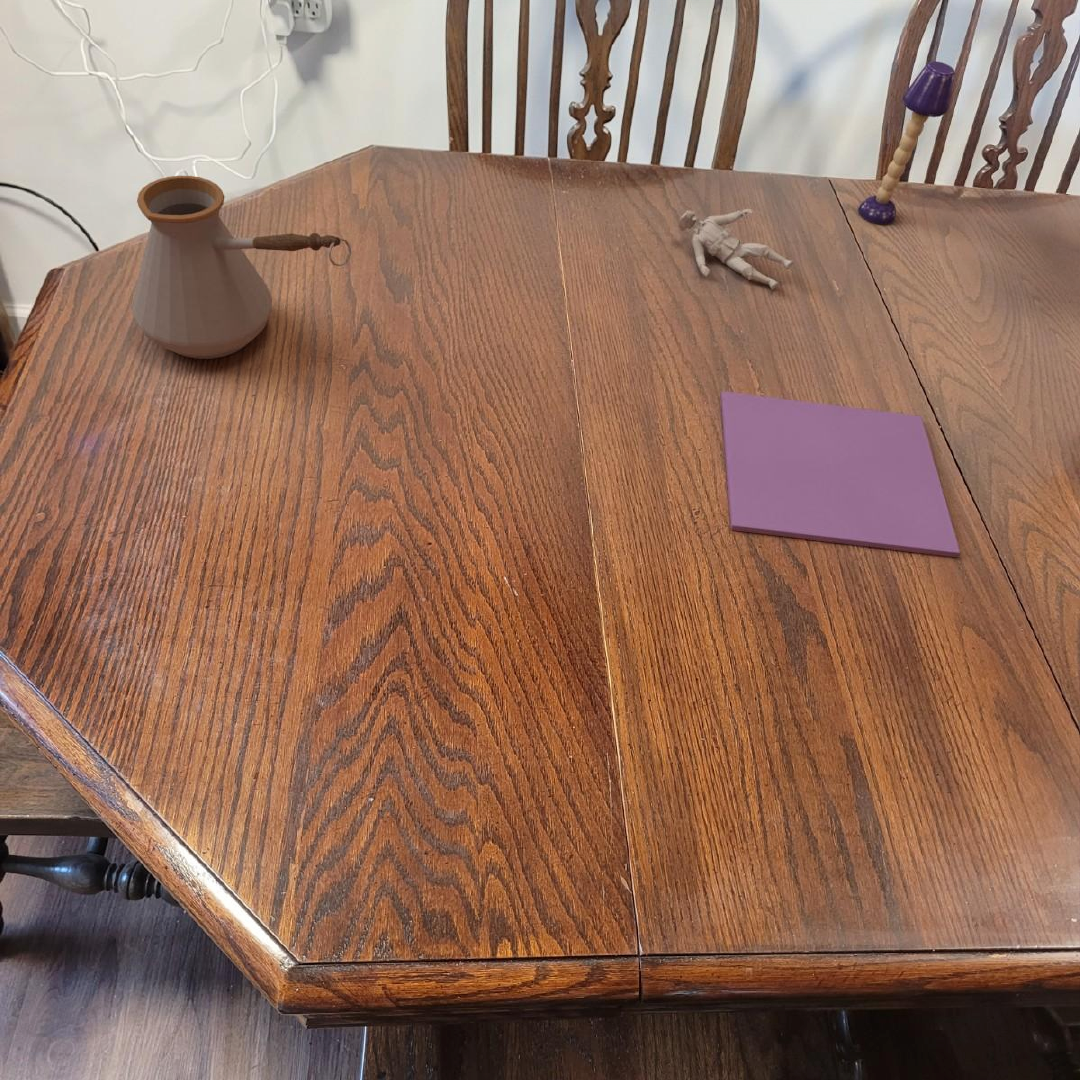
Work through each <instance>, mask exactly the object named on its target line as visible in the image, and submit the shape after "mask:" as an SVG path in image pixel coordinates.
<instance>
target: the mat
mask: <svg viewBox="0 0 1080 1080" xmlns="http://www.w3.org/2000/svg"><path fill="white" fill-rule="evenodd" d="M720 408H721V420H722V421H721V422H722V433H723V447H724V459H725V473H726V485H727V496H728V510H729V521H730V522H729V523H730V529H731V530H730V531H735V532H736V531H737V532H743V533H744V532H745V533H752V534H753V533H754V534H762V535H770V536H779V537H784V538H785V537H786V538H793V539H803V540H811V541H817V542H818V541H819V542H828V543H836V544H844V545H851V546H860V547H869V548H876V549H885V550H893V551H900V552H910V553H919V554H926V555H933V556H943V557H951V558H958V557H959V556H960V554H961V550H960V546H959V544H958V540H957V536H956V533H955V529H954V526H953V522H952V519H951V516H950V511H949V508H948V504H947V502H946V501H947V500H946V498H945V494H944V491H943V487H942V484H941V481H940V476H939V473H938V469H937V466H936V463H935V460H934V455H933V453H932V452H933V451H932V449H931V445H930V441H929V437H928V434H927V431H926V428H925V424H924V421H923V417H922V416H921V415H917V414H915V415H914V414H907V413H900V412H891V411H883V410H876V409H868V408H859V407H852V406H844V405H835V404H828V403H820V402H812V401H803V400H797V399H796V400H795V399H788V398H780V397H772V396H763V395H757V394H749V393H748V394H747V393H739V392H732V391H724V390H723V391H721V393H720Z"/></svg>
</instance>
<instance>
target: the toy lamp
mask: <svg viewBox="0 0 1080 1080" xmlns="http://www.w3.org/2000/svg"><path fill="white" fill-rule="evenodd" d="M955 74H956V72H955V69H954V68H953V66H951V65H949V64H947V63H945V62H941V61H930V62H928V63H927V64H925V66H924V67H923V68H922V70H920V72H919V73H918V75H917V76H916V77H915V79H913V81H912V83H911V85H910V86H909V87H908V89H907V90H906V91H905V93H904V95H903V96H902V104H903V105H904V107H906V109H908V110H909V111H911V117H910V120H909V121H908V122H907V124H906V126H905V132H904V134H903V135H902V136H901V138H900V141H899V146H898V147H897V148H896V150H895V152H894V154H893V160H891V161H890V163H889V165H888V168H887V173H886V174H885V175H884V176H883V178H882V181H881V186H880V187H879V188H878V190H877V192H876V195H871V196H868V197H867V198H865V199H864V200H863V201H862V202H861V203H860V205H859V207H858V214H859V215H860V216H861V217H862V218H863V219H864V220H866V221H867V222H870V223H872V224H876V225H886V226H887V225H891V224H893V223H894V222H896V221H895V220H896V218H897V207H896V205H895V203H894V202H893V201H892V198H893V196H894V190H895V189H896V188H897V187H898V185H899V183H900V180H901V179H900V177H902V175H903V174H904V172H905V171H906V167H907V166H906V165H907V163H908V162H909V161H910V159H911V158H912V154H913V150H914V149H915V147H916V146H917V144H918V141H919V137H920V136H921V134H922V133H923V130H924V128H925V123H926V122H927V120H929V118H930V117H931V118H939V117H942V116H944V115H945V114H947V112H948V110H949V107H950V101H951V99H952V98H951V97H952V93H953V92H952V91H953V88H954V87H953V86H954V81H955V76H956V75H955Z"/></svg>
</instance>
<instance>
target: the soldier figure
mask: <svg viewBox="0 0 1080 1080" xmlns="http://www.w3.org/2000/svg"><path fill="white" fill-rule="evenodd" d="M695 213H696V211H694V210H691V209H687V210H685V212H684V213H682V215H681V217H680V220H679V222H678V228H679V229H680V232H681V233H683V232H684V231H685V230H686V229H688V230H691V229H692V231H693V233H694V234H693V235H692V238H691V243H692V247H693V250H694V251H693V252H694V256H695V260H696V264H697V267H698V269H699V270H700V272H701V274H703V276H704V277H708V275H709V274H710V272H711V269H709V268H708V267H707V266H706V265H707V263H706V258H705V250H704V248H705V249H707V252H708V253H709V254H710V255H711V256H712V257H714V256H715V257H716V258H717V259H719V260H720V261H721V262H722V263H723V264H724V265H726V266H728V267H729V268H730V269H732V270H734V271H735V272H736V273H739V274H741V275H742V276H743V277H744V278H747V279H748V281H752V280H754V281H758V282H761V283H764V284H768V286H769V287H770V289H772V290H775V289H776V287H777V286H778V285H779V282H777V280H775V279H774V278H772V277H768V276H766V275H764V274H763V273H762V272H760V271H758V270H757V269H756V268H755V267H754V266H753V265H752V264H750V263H748V262H747V261H745V260H744V259H746V258H751V257H752V258H764V259H766V260H770V261H772V262H775V263H779V264H781V265H782V266H783V267H784V268H785V269H787V270H790V269H791V268H792V266H793V265H794V263H795V261H794V260H789V259H786V258H785V257H783V256H782V255H780V254H779V253H778V252H776V251H775V250H774V249H772V248H771V247H770V246H769V245H767V244H765V245H764V244H762V243H758V242H757V243H756V242H747V243H741V240H740V239H738V238H736V237H734V235H732V234H733V230H732V231H731V230H730V229H729V228H727V227H724V229H723V227H722V226H724V225H725V226H726V225H730V224H733V223H736V221H738V220H740V219H741V218H743V217H744V218H748V217H747V216H746V215H747V214H751V213H754V210H752V208H751V209H750V208H745V209H740V210H738V211H734V212H730V213H727V214H720V215H708V216H707V217H706V218H705V219H703V220H698V216H696V215H695Z"/></svg>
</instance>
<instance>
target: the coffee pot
mask: <svg viewBox="0 0 1080 1080" xmlns="http://www.w3.org/2000/svg"><path fill="white" fill-rule="evenodd" d="M225 197H226V196H225V194H224V192H223V190H222V188H221V187H220V186H219V185H218V184H217V183H215V182H214V181H212V180H210V179H207V178H203V177H201V176H195V175H194V176H193V175H173V176H166V177H163V178H157V179H156V180H154V181H151V182H149V183H147V184H146V185H145V186H143V187H142V188H141V190H140V191H139V192H138V194H137V200H136V203H137V206H138V208H139V210H140V212H141V213H142V215H143V216H144V217H145V218H146V219H147V220H148V221H150V223H151V224H150V227H149V231H148V236H147V240H146V243H145V244H146V245H145V248H144V253H143V257H142V260H141V265H140V268H139V273H138V277H137V280H136V281H137V282H136V286H135V290H134V293H133V298H132V301H131V314H132V317H133V321H134V323H135V324H136V326H137V328H139V329H140V331H141V332H142V333H143V334H144V336H146V338H148V340H150V341H151V342H153V343H155V344H156V345H158V347H161V348H162V349H165V350H168V351H170V352H174V353H176V354H178V355H181V356H183V357H186V358H191V359H197V360H210V359H217V358H222V357H223V358H224V357H226V356H229V355H232V354H235V353H236V352H238V351H239V350H241V349H243V348H244V347H246V346H247V344H249V343H250V342H252V341H253V340H254V339H255V338H256V337H258V335H259V334H260V333H261V332H262V331H263V330H264V329H265V327H266V325H267V323H268V321H269V319H270V317H271V313H272V309H273V296H272V294H271V292H270V289H269V287H268V285H267V284H266V283H265V281H264V279H263V278H262V276H261V275H260V274H259V272H258V271H257V268H255V266H254V265H253V263H252V262H251V261H250V259H249V258H248V256H247V255H246V254H245V252H244V250H248V249H256V250H266V251H284V252H297V251H300V250H304V249H311V250H312V251H319V250H320V249H322V248H327V249H328V252H327V255H328V260H329V261H330V263H331V264H332V265H333V266H336V267H343V266H345V265H347V263H348V262H349V260H351V255H352V246H351V244H350V243H349V241H348V240H347V239H344V238H340V237H339V236H335V235H329V234H325V235H323V236H321V235H320V234H319V233H317V232H313V233H310V235H303V234H297V233H283V234H282V233H281V234H274V235H273V234H272V235H263V236H256V237H234V236H233V235H232V233H231V231H230V230H229V229H228V228H227V226H226V225H225V223H224V222H223V220H222V219H221V217H220V210H221V209H222V208H223V206H224V204H225ZM342 242H344V243H345V244H346V246H347V250H348V254H347V257H346V259H345V260H344V262H343V263H336V262H335V261H334V260H333V258H332V257H333V256H332V250H333V248H334V247H337V246H340V245H341V243H342Z"/></svg>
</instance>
